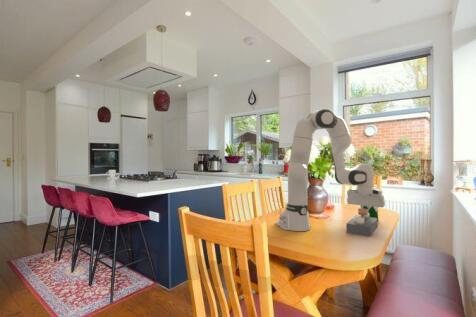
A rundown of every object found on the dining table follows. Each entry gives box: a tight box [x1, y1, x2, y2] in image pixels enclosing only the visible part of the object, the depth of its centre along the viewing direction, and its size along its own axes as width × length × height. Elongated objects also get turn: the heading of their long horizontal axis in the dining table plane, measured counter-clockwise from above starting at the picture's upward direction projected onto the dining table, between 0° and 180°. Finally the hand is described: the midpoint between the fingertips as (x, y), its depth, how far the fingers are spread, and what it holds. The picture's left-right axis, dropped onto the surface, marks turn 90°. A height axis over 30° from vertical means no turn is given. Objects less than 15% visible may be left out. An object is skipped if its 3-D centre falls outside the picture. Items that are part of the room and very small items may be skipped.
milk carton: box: [363, 206, 379, 222], centre depth 167 cm, size 9×9×20 cm
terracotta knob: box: [357, 207, 367, 218], centre depth 146 cm, size 5×5×7 cm
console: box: [345, 214, 378, 237], centre depth 146 cm, size 24×12×5 cm, turn 144°
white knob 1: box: [354, 216, 364, 225], centre depth 139 cm, size 5×5×7 cm
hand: (365, 213), depth 152 cm, fingers closed, pressing on white knob 2
